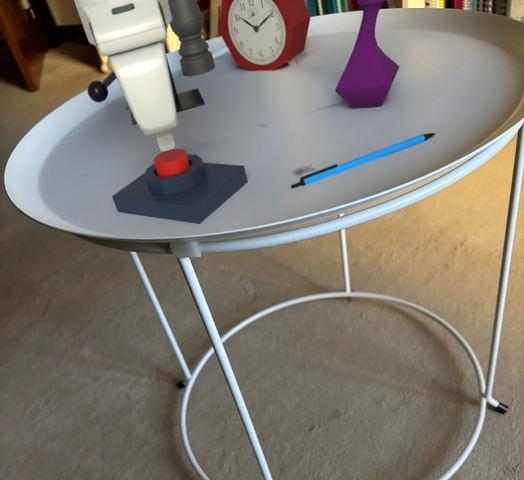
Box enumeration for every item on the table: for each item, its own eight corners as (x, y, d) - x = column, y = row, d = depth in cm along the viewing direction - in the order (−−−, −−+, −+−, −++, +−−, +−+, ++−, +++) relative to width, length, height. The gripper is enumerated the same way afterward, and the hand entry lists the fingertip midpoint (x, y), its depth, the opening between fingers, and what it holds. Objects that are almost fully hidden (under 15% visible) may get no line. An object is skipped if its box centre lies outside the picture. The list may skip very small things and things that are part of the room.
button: (150, 176, 69) (145, 162, 68) (171, 161, 72) (167, 147, 71) (176, 179, 67) (171, 164, 66) (196, 163, 70) (192, 149, 69)
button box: (117, 212, 72) (105, 182, 70) (168, 175, 78) (158, 145, 76) (199, 224, 66) (189, 191, 63) (248, 182, 71) (240, 150, 69)
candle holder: (178, 82, 110) (133, -79, 94) (193, 71, 114) (152, -86, 98) (207, 80, 107) (166, -87, 91) (221, 68, 112) (184, -94, 96)
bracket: (134, 130, 94) (105, 45, 86) (132, 114, 101) (104, 33, 93) (206, 110, 95) (184, 23, 87) (199, 95, 102) (178, 13, 93)
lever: (98, 109, 94) (82, 93, 92) (98, 103, 96) (83, 88, 94) (161, 45, 90) (146, 27, 88) (160, 41, 93) (145, 23, 91)
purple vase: (400, 89, 84) (393, -60, 73) (391, 110, 79) (382, -47, 68) (349, 94, 87) (334, -49, 76) (337, 114, 82) (320, -36, 71)
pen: (290, 189, 68) (289, 180, 67) (433, 135, 71) (433, 126, 70) (293, 191, 67) (292, 182, 67) (437, 138, 71) (437, 128, 70)
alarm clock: (228, 77, 106) (199, -54, 93) (254, 60, 111) (229, -66, 98) (299, 76, 98) (278, -68, 86) (323, 58, 103) (306, -80, 91)
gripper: (95, 5, 67) (136, 125, 76) (94, 41, 51) (146, 188, 60) (149, -10, 67) (183, 112, 76) (164, 21, 51) (206, 170, 60)
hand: (167, 146), depth 68 cm, fingers closed
